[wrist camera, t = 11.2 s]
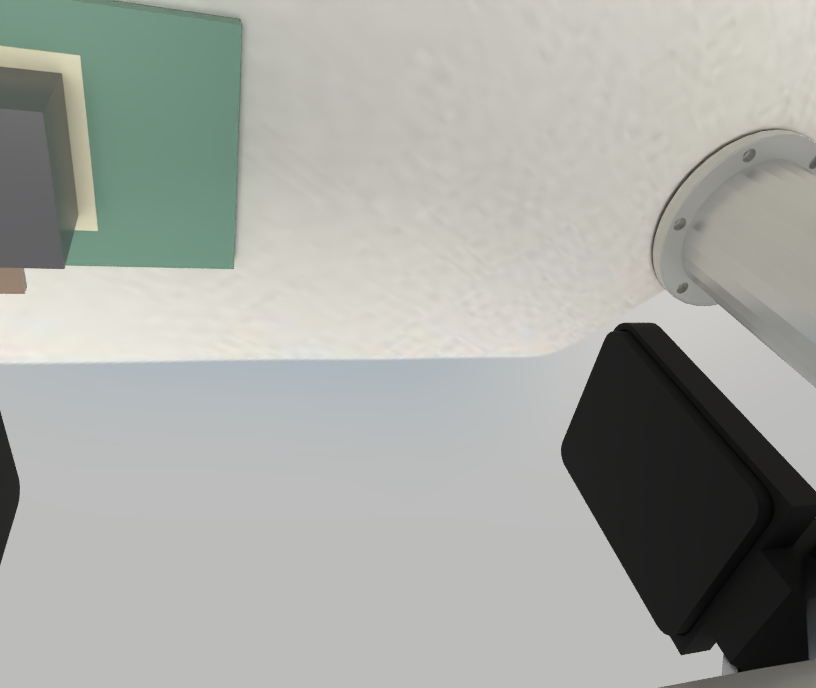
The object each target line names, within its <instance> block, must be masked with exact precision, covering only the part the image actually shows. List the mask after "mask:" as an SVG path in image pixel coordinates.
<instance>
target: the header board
mask: <svg viewBox="0 0 816 688" xmlns="http://www.w3.org/2000/svg"><path fill="white" fill-rule="evenodd" d="M241 38H242V24H241V21H240V19H235V18H229V17H222V16H215V15H208V14H201V13H194V12H188V11H181V10H174V9H167V8H160V7H153V6H147V5H140V4H133V3H126V2H119V1H112V0H0V67H9V68H18V69H27V70H37V71H46V72H55V73H62V78H63V87H64V95H65V104H66V112H67V121H68V129H69V138H70V146H71V155H72V163H73V172H74V180H75V189H76V198H77V206H78V219H77V223H76V227H75V230H74V234H73V238H72V242H71V246H70V249H69V253H68V257H67V261H66V265H72V266H119V267H165V268H211V269H234V248H235V218H236V188H237V158H238V128H239V98H240V68H241Z"/></svg>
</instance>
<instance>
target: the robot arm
mask: <svg viewBox="0 0 816 688" xmlns="http://www.w3.org/2000/svg"><path fill="white" fill-rule="evenodd" d="M653 265H654V269H655V272H656V275H657V278H658V280H659V281H660V283H661V284H662V285H663V287H664V288H665V289H666V290H667V291H668V292H669V293H670V294H671V295H673V296H674V297H675V298H677V299H679V300H680V301H682V302H684V303H688V304H692V305H696V306H711V305H716V304H719V305H720V306H722V307H723V308H724V309H725V310H726V311H727V312H728V313H730V314H731V315H732V316H733V317H734V318H736V320H738V321H739V322H740V323H741V324H742V325H743V326H745V327H746V328H747V329H748V330H749V331H751V332H752V333H753V334H754V335H755V336H756V337H757V338H758V339H760V340H761V341H762V342H763V343H764V344H765V345H767V346H768V347H769V348H770V349H771V350H773V351H774V352H775V353H776V354H777V355H778V356H779V357H781V358H782V359H783V360H784V361H785V362H787V363H788V364H789V365H790V366H791V367H792V368H793V369H794V370H796V371H797V372H798V373H799V374H800V375H801V376H803V377H804V378H805V379H806V380H807V381H808V382H810V383H811V384H812V385H813V386H814V387H815V388H816V143H815V142H814V141H812V140H811V139H809V138H807V137H805V136H802V135H800V134H798V133H795V132H793V131H787V130H779V129H777V130H768V131H761V132H758V133H755V134H751V135H748V136H745V137H743V138H741V139H739V140H737V141H735V142H733V143H731V144H729V145H727V146H725V147H724V148H722V149H721V150H720V151H718V152H717V153H715V154H714V155H712V156H711V157H709V158H708V159H707V160H706V161H705V162H704V163H703V164H702V165H700V166H699V167H698V168H697V169H696V170H695V171H694V172H693V173H692V174H691V175H690V176H689V177H688V179H687V180H686V181H685V182H684V183H683V184H682V185H681V187H680V188H679V189H678V191H677V192H676V194H675V195H674V197H673V198H672V200H671V201H670V203H669V204H668V206H667V208H666V210H665V212H664V214H663V216H662V218H661V220H660V223H659V226H658V229H657V232H656V235H655V239H654V247H653ZM561 455H562V460H563V463H564V465H565V467H566V469H567V470H568V472H569V474H570V475H571V477H572V479H573V481H574V482H575V484H576V486H577V487H578V489H579V491H580V493H581V495H582V496H583V498H584V500H585V502H586V503H587V505H588V507H589V508H590V510H591V512H592V514H593V515H594V517H595V519H596V521H597V522H598V524H599V526H600V528H601V529H602V531H603V532H604V534H605V536H606V538H607V540H608V541H609V543H610V545H611V546H612V548H613V550H614V552H615V553H616V555H617V557H618V559H619V560H620V562H621V564H622V566H623V567H624V569H625V571H626V573H627V574H628V576H629V578H630V580H631V581H632V583H633V585H634V586H635V588H636V590H637V592H638V593H639V595H640V597H641V599H642V600H643V602H644V604H645V605H646V607H647V609H648V611H649V612H650V614H651V616H652V618H653V619H654V621H655V623H656V625H657V626H658V627H659V629H660V630H661V631H662V632H663V633H664V634H666V635H669V636H670V637H671V639H672V640H673V642H674V644H675V646H676V647H677V649H678V651H679V652H680V654H681V655H685V654H690V653H696V652H701V651H707V650H710V649H711V648H712V647H713V645H714V644H715V643H716V642H717V644H718V646H719V647H720V649H721V650H722V652H723V653H724V655H723V667H722V676H719V677H713V678H708V679H703V680H697V681H692V682H687V683H681V684H676V685H671V686H666V687H660V688H816V491H815V490H814V489H813V488H812V487H811V486H810V485H809V484H808V483H807V482H806V481H805V480H804V478H802V477H801V475H800V474H799V473H798V472H797V471H796V470H795V469H794V468H793V467H792V466H791V465H790V464H789V463H788V462H787V461H786V460H785V458H784V457H783V456H782V455H781V454H780V453H779V452H778V451H777V450H776V449H775V448H774V447H773V446H772V445H771V444H770V443H769V442H768V441H767V440H766V438H765V437H763V435H762V434H761V433H760V432H759V431H758V430H757V429H756V428H755V427H754V426H753V425H752V424H751V423H750V422H749V420H747V418H746V417H745V416H744V415H743V414H742V413H741V412H740V411H739V410H738V409H737V408H736V407H735V406H734V405H733V404H732V403H731V401H730V400H729V399H728V398H727V397H726V396H725V395H724V394H723V393H722V392H721V391H720V390H719V389H718V388H717V387H716V386H715V385H714V384H713V383H712V382H711V380H710V379H709V378H708V377H707V376H706V375H705V374H704V373H703V372H702V371H701V370H700V369H699V368H698V367H697V366H696V365H695V364H694V363H693V361H692V360H690V358H689V357H688V356H687V355H686V354H685V353H684V352H683V351H682V350H681V349H680V348H679V347H678V346H677V345H676V343H675V342H674V341H673V340H672V339H671V338H670V337H669V336H668V335H667V334H666V333H665V332H664V331H663V330H662V329H661V328H660V327H659V326H658V325H656V324H654V323H622V324H619V325H618V326H617V327H616V328H615V329H614V331H613V332H610V333H609V334H608V335H607V336H606V338H605V340H604V342H603V345H602V347H601V350H600V352H599V354H598V357H597V359H596V362H595V364H594V367H593V369H592V372H591V374H590V376H589V379H588V381H587V384H586V386H585V389H584V391H583V394H582V396H581V398H580V401H579V403H578V406H577V408H576V411H575V413H574V415H573V418H572V420H571V423H570V425H569V428H568V430H567V433H566V435H565V437H564V440H563V442H562V447H561ZM19 494H20V485H19V478H18V474H17V470H16V467H15V463H14V460H13V456H12V452H11V448H10V445H9V441H8V438H7V434H6V431H5V427H4V423H3V420H2V416H1V412H0V564H1V560H2V557H3V554H4V550H5V547H6V543H7V540H8V536H9V533H10V530H11V527H12V523H13V520H14V517H15V513H16V510H17V507H18V502H19Z"/></svg>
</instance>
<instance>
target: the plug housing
mask: <svg viewBox="0 0 816 688" xmlns="http://www.w3.org/2000/svg"><path fill="white" fill-rule="evenodd" d="M77 219H78V206H77V198H76V189H75V180H74V172H73V163H72V155H71V146H70V138H69V129H68V121H67V112H66V104H65V95H64V87H63V78H62V73H55V72H46V71H37V70H27V69H18V68H9V67H0V294H25V291H26V288H27V284H26V278H25V272H24V268H46V269H65V265H66V261H67V257H68V253H69V249H70V246H71V242H72V238H73V234H74V230H75V227H76V223H77Z"/></svg>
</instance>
